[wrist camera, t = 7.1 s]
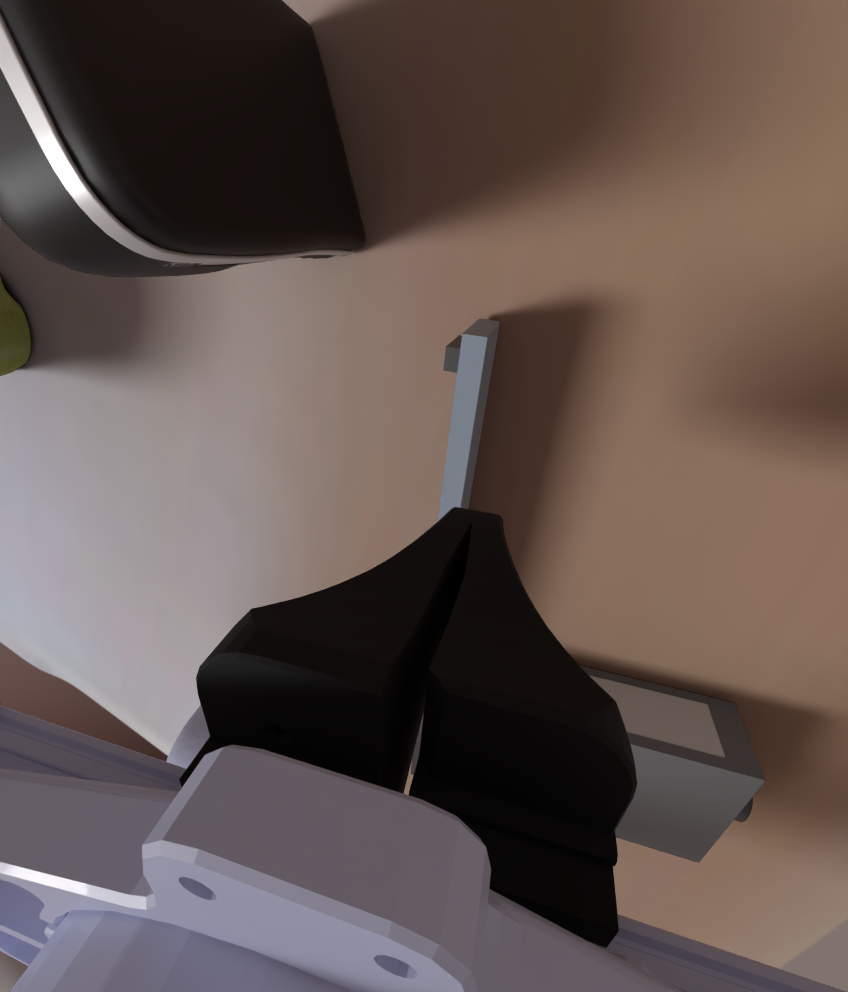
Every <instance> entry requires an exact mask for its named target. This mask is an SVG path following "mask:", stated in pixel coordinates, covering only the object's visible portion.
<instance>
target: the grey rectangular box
mask: <svg viewBox="0 0 848 992" xmlns="http://www.w3.org/2000/svg"><path fill="white" fill-rule="evenodd" d="M579 666H580V667H581V668H582V669H583V670H584V671H585V672H586V673H587V674H588V675H589V676H590V677H591V678H592V679H593V680H594V681H595V682H596V683H597V684H598V685H599V686H600V687H602V688H603V689H604V690H605V691H606V692H607V693H608V694H609V695H610V696H611V697H612V698H613V699H614V700H615V701H616V703H617V705H618V708H619V711H620V713H621V716H622V719H623V722H624V725H625V728H626V731H627V735H628V738H629V741H630V745H631V748H632V752H633V756H634V761H635V767H636V778H637V783H638V784H637V787H636V791H635V794H634V798H633V799H632V801H631V803H630V805H629V807H628V808H627V810H626V812H625V814H624V815H623V817H622V819H621V821H620V823H619V824H618V826H617V828H616V830H615V835H616V837H617V838H620V839H623V840H627V841H630V842H633V843H636V844H640V845H643V846H646V847H649V848H652V849H656V850H659V851H662V852H665V853H669V854H672V855H675V856H678V857H682V858H685V859H688V860H691V861H694V862H698V863H699V862H700V861H701V859H702V858H703V857H704V856H705V854H706V853H707V852H708V851H709V850H710V848H711V847H712V846H713V845H714V843H715V842H716V841H717V840H718V839H719V837H720V836H721V835H722V834H723V832H724V831H725V830H726V829H727V828H728V826H729V825H730V824H731V823H732V821H733V820H736V821H740V822H743V821H745V820H746V819H747V818H748V817H749V815H750V812H751V809H752V802H753V796H754V795H755V793H756V792H757V791H758V790H759V788H760V787H761V786H762V785H763V784H764V782H765V781H766V780H765V777H764V775H763V772H762V770H761V767H760V765H759V762H758V760H757V757H756V755H755V752H754V750H753V747H752V745H751V742H750V740H749V737H748V735H747V732H746V730H745V727H744V725H743V722H742V720H741V717H740V715H739V712H738V710H737V707H736V705H735V703H733V702H729V701H724V700H720V699H716V698H712V697H708V696H704V695H700V694H696V693H692V692H687V691H683V690H679V689H675V688H671V687H667V686H663V685H659V684H655V683H651V682H646V681H642V680H638V679H634V678H630V677H626V676H622V675H618V674H614V673H609V672H605V671H601V670H597V669H593V668H589V667H585V666H581V665H579ZM423 714H424V713H423ZM422 724H423V717H422V721H421V725H420V729H419V733H418V737H417V741H416V744H415V748H414V752H413V756H412V767H411V774H413V775H414V772H415V769H416V765H417V761H418V757H419V752H420V743H421V733H422Z"/></svg>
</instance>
